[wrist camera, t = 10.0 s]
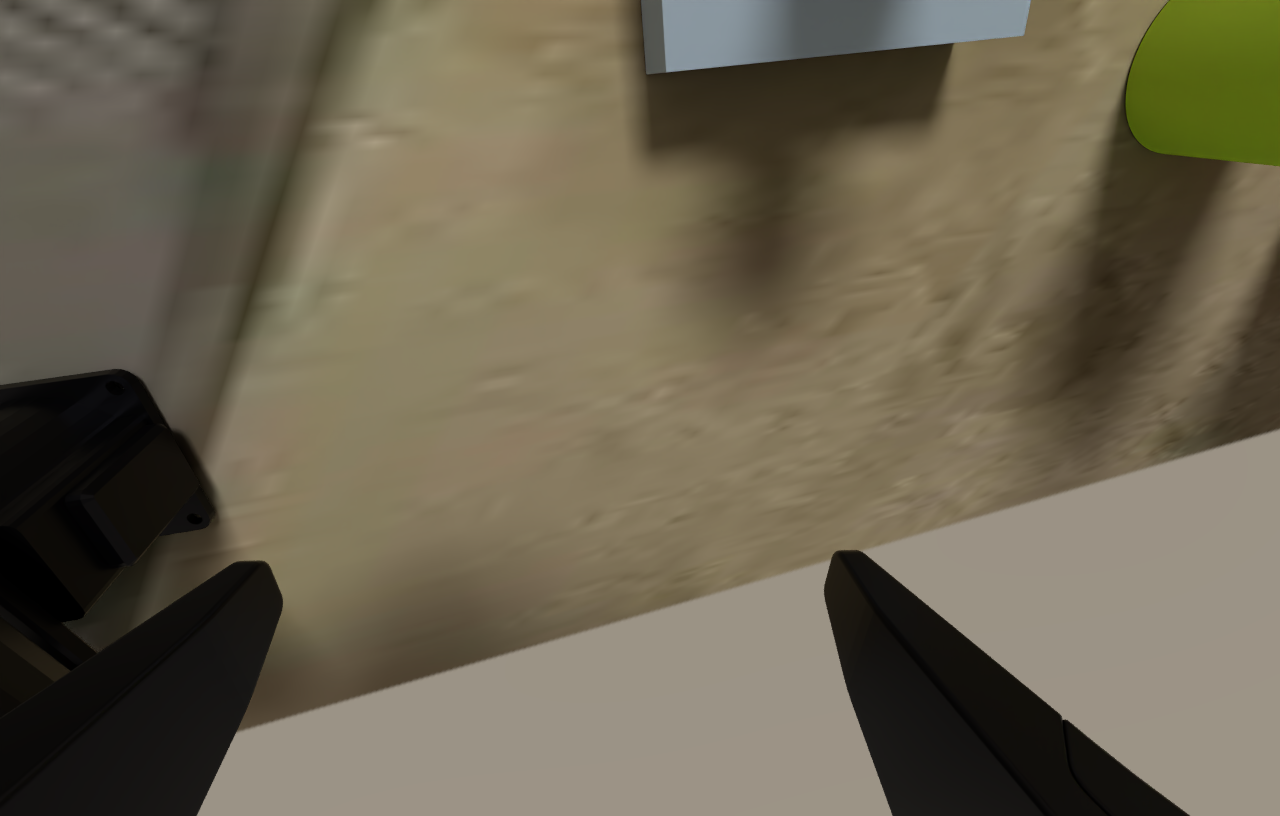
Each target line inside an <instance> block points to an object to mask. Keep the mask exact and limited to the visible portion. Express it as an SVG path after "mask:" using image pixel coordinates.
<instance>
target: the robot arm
mask: <svg viewBox="0 0 1280 816" xmlns="http://www.w3.org/2000/svg"><path fill="white" fill-rule="evenodd" d="M113 381H116V382H118V383H120V384H121V385H122V386H123V387H124V389H120V388H118V387H117V386H116V385H115V384H114V382H113ZM194 514H198V515H200V516H201V517H197V516H195V515H194ZM214 516H215V512H214V509H213V507H212V506H211V504H210V502H209V500H208V499H207V497H206V495H205V494H204V492H203V490H202V488H201V487H200V485H199V481H198V479H197V478H196V476H195V474H194V473H193V471H192V469H191V467H190V466H189V464H188V462H187V461H186V459H185V457H184V455H183V454H182V452H181V450H180V448H179V447H178V445H177V443H176V442H175V440H174V438H173V436H172V435H171V433H170V431H169V430H168V428H166V426H165V425H164V423H163V421H162V420H161V418H160V416H159V414H158V413H157V411H156V409H155V408H154V406H153V404H152V402H151V401H150V399H149V397H148V396H147V394H146V392H145V390H144V389H143V387H142V385H141V384H140V382H139V380H138V379H137V378H136V377H135V376H134V375H133V374H131V373H130V372H128V371H125V370H122V369H112V370H105V371H98V372H91V373H84V374H76V375H69V376H62V377H55V378H48V379H41V380H34V381H27V382H19V383H12V384H5V385H0V816H197V814H198V812H199V810H200V807H201V805H202V803H203V801H204V799H205V797H206V795H207V793H208V791H209V788H210V786H211V784H212V782H213V780H214V778H215V776H216V774H217V772H218V769H219V767H220V765H221V763H222V761H223V759H224V757H225V755H226V752H227V750H228V748H229V746H230V744H231V742H232V740H233V738H234V736H235V734H236V731H237V729H238V727H239V725H240V723H241V721H242V718H243V716H244V714H245V712H246V709H247V707H248V704H249V702H250V699H251V697H252V694H253V692H254V689H255V686H256V683H257V680H258V677H259V675H260V672H261V669H262V666H263V663H264V660H265V658H266V655H267V652H268V649H269V646H270V644H271V641H272V638H273V635H274V632H275V629H276V627H277V624H278V621H279V618H280V615H281V612H282V607H283V598H282V594H281V592H280V590H279V587H278V585H277V582H276V580H275V578H274V575H273V573H272V570H271V568H270V566H269V564H267V563H266V562H265V561H238V562H235V563H233V564H231V565H229V566H228V567H226V568H225V569H223V570H222V571H220V572H219V573H217V574H216V575H214V576H213V577H211V578H210V579H208V580H207V581H205V582H204V583H202V584H201V585H199V586H198V587H196V588H195V589H193V590H192V591H190V592H189V593H187V594H186V595H184V596H183V597H181V598H180V599H178V600H177V601H175V602H174V603H172V604H171V605H169V606H168V607H166V608H165V609H163V610H162V611H160V612H159V613H157V614H156V615H154V616H153V617H151V618H150V619H148V620H147V621H145V622H144V623H142V624H141V625H139V626H138V627H136V628H135V629H133V630H132V631H130V632H129V633H127V634H126V635H124V636H123V637H121V638H120V639H118V640H117V641H115V642H114V643H112V644H111V645H109V646H108V647H106V648H105V649H103V650H102V651H100V652H99V653H98V652H96V651H95V650H94V649H93V648H91V647H90V646H89V645H88V644H87V643H85V642H84V641H83V640H82V639H81V638H79V637H78V636H77V635H76V634H74V633H73V632H72V631H71V630H70V629H68V628H67V627H66V626H65V625H64V624H63V622H66V621H72V620H77V619H80V618H83V617H84V616H85V615H86V613H87V612H88V611H89V610H90V609H91V608H92V606H93V605H94V604H95V603H96V602H97V600H98V599H99V598H100V597H101V596H102V595H103V593H104V592H105V591H106V590H107V589H108V587H109V586H110V585H111V584H112V583H113V582H114V580H115V579H116V578H117V577H118V576H119V574H120V573H121V572H122V571H123V570H124V569H125V567H128V566H133V565H134V564H135V563H136V562H137V561H138V560H139V559H140V558H141V556H142V555H143V554H144V553H145V552H146V550H147V549H148V548H149V547H150V546H151V544H152V543H153V542H154V541H155V540H156V538H157V537H158V536H163V535H169V534H175V533H181V532H187V531H193V530H199V529H203V528H206V527H207V526H208V525H209V524H210V523H211V521H212V520H213V519H214ZM824 596H825V602H826V606H827V610H828V614H829V618H830V622H831V626H832V630H833V635H834V639H835V643H836V646H837V651H838V655H839V659H840V663H841V667H842V671H843V675H844V679H845V683H846V686H847V690H848V693H849V696H850V699H851V702H852V704H853V707H854V710H855V713H856V716H857V719H858V721H859V724H860V727H861V730H862V732H863V735H864V738H865V741H866V743H867V746H868V749H869V752H870V755H871V757H872V760H873V763H874V766H875V768H876V771H877V774H878V777H879V779H880V782H881V785H882V787H883V790H884V793H885V796H886V798H887V801H888V804H889V807H890V809H891V812H892V815H893V816H1190V815H1188V814H1187V813H1186V812H1184V811H1183V810H1182V809H1180V808H1179V807H1178V806H1176V805H1175V804H1174V803H1172V802H1171V801H1170V800H1168V799H1167V798H1166V797H1164V796H1163V795H1162V794H1160V793H1159V792H1158V791H1156V790H1155V789H1153V788H1152V787H1151V786H1150V785H1148V784H1147V783H1146V782H1144V781H1143V780H1142V779H1140V778H1139V777H1137V776H1136V775H1135V774H1134V773H1132V772H1131V771H1130V770H1129V769H1127V768H1126V767H1125V766H1123V765H1122V764H1121V763H1120V762H1119V761H1117V760H1116V759H1115V758H1114V757H1112V756H1111V755H1110V754H1109V753H1107V752H1106V751H1105V750H1104V749H1102V748H1101V747H1100V746H1098V745H1097V744H1096V743H1095V742H1093V741H1092V740H1091V739H1090V738H1088V737H1087V736H1086V735H1085V734H1084V733H1083V732H1081V731H1080V730H1079V729H1078V728H1076V727H1075V726H1074V725H1073V724H1072V723H1070V722H1069V721H1068V720H1062V716H1061V715H1060V714H1059V713H1058V712H1057V711H1055V710H1054V709H1053V708H1052V707H1051V706H1049V705H1048V704H1047V703H1046V702H1044V701H1043V700H1042V699H1041V698H1040V697H1038V696H1037V695H1036V694H1035V693H1034V692H1032V691H1031V690H1030V689H1029V688H1028V687H1026V686H1025V685H1024V684H1022V683H1021V682H1020V681H1019V680H1018V679H1017V678H1015V677H1014V676H1013V675H1012V674H1010V673H1009V672H1008V671H1007V670H1006V669H1004V668H1003V667H1002V666H1001V665H1000V664H998V663H997V662H996V661H995V660H993V659H992V658H991V657H990V656H988V655H987V654H986V653H985V652H984V651H982V650H981V649H980V648H979V647H978V646H976V645H975V644H974V643H973V642H972V641H970V640H969V639H968V638H966V637H965V636H964V635H963V634H962V633H961V632H959V631H958V630H957V629H956V628H954V627H953V626H952V625H951V624H949V623H948V622H947V621H946V620H945V619H944V618H942V617H941V616H940V615H938V614H937V613H936V612H935V611H934V610H932V609H931V608H930V607H929V606H928V605H926V604H925V603H924V602H923V601H922V600H920V599H919V598H918V597H917V596H915V595H914V594H913V593H912V592H911V591H909V590H908V589H907V588H906V587H905V586H903V585H902V584H901V583H900V582H898V581H897V580H896V579H895V578H894V577H892V576H891V575H890V574H889V573H888V572H886V571H885V570H884V569H883V568H881V567H880V566H879V565H878V564H877V563H875V562H874V561H873V560H872V559H870V558H869V557H868V556H867V555H866V554H864V553H863V552H861V551H858V550H839V551H836V552H835V553H834V554H833V556H832V559H831V563H830V566H829V570H828V574H827V578H826V581H825V586H824Z"/></svg>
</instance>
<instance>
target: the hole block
mask: <svg viewBox="0 0 1280 816" xmlns="http://www.w3.org/2000/svg"><path fill="white" fill-rule="evenodd" d="M1030 2H1031V0H641V9H642V23H643V37H644V50H645V64H646V75H647V74H656V73H666V72H676V71H685V70H695V69H705V68H715V67H724V66H734V65H744V64H754V63H763V62H773V61H783V60H792V59H802V58H812V57H822V56H831V55H841V54H851V53H860V52H870V51H880V50H890V49H899V48H909V47H919V46H929V45H938V44H948V43H958V42H967V41H977V40H986V39H996V38H1005V37H1015V36H1024V32H1025V27H1026V22H1027V17H1028V12H1029V7H1030Z"/></svg>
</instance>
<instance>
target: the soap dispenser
mask: <svg viewBox="0 0 1280 816" xmlns="http://www.w3.org/2000/svg"><path fill="white" fill-rule="evenodd" d="M1126 115H1127V120H1128V124H1129V127H1130V129H1131V131H1132V133H1133V135H1134V137H1135V138H1136V139H1137V140H1138V142H1139V143H1140V144H1142V145H1143V146H1144V147H1146V148H1147V149H1149V150H1151V151H1153V152H1156V153H1161V154H1169V155H1178V156H1188V157H1197V158H1207V159H1216V160H1225V161H1235V162H1244V163H1254V164H1263V165H1273V166H1280V0H1169V2H1168V3H1167V4H1166V5H1165V6H1164V8H1163V9H1162V10H1161V11H1160V13H1159V14H1158V16H1157V17H1156V18H1155V20H1154V21H1153V23H1152V24H1151V26H1150V28H1149V29H1148V31H1147V33H1146V34H1145V36H1144V38H1143V40H1142V42H1141V44H1140V46H1139V48H1138V51H1137V53H1136V56H1135V58H1134V61H1133V64H1132V67H1131V70H1130V74H1129V78H1128V83H1127V89H1126Z"/></svg>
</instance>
